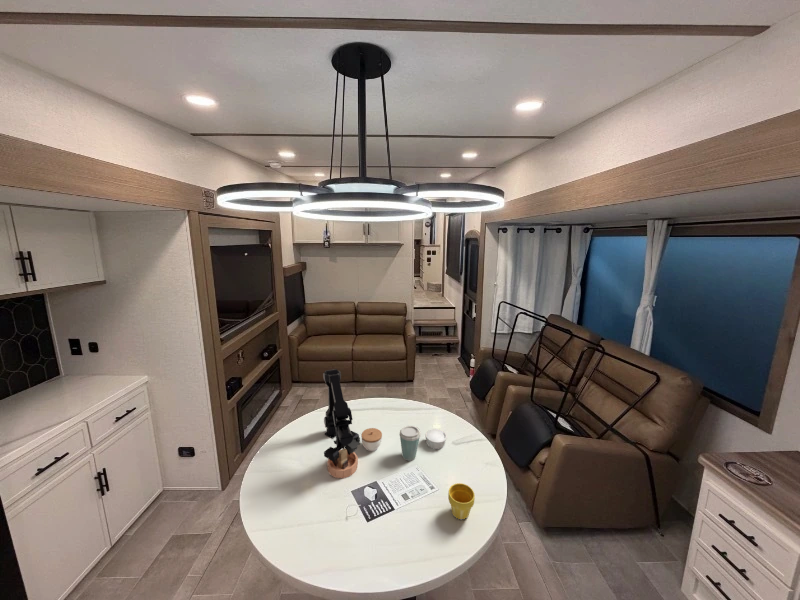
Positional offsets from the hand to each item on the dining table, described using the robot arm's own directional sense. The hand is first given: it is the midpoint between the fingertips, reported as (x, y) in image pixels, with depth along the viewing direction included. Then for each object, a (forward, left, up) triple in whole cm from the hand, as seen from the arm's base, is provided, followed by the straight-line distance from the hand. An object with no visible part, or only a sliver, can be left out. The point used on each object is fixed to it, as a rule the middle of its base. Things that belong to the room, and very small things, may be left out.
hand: (342, 460), depth 151 cm
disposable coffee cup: (+23, +24, -4) cm, 33 cm away
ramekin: (+30, +40, -4) cm, 50 cm away
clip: (0, 0, -4) cm, 4 cm away
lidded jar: (+3, +19, -4) cm, 20 cm away
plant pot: (+57, +7, -4) cm, 58 cm away
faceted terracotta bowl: (0, 0, -4) cm, 4 cm away
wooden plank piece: (0, 0, -3) cm, 3 cm away
